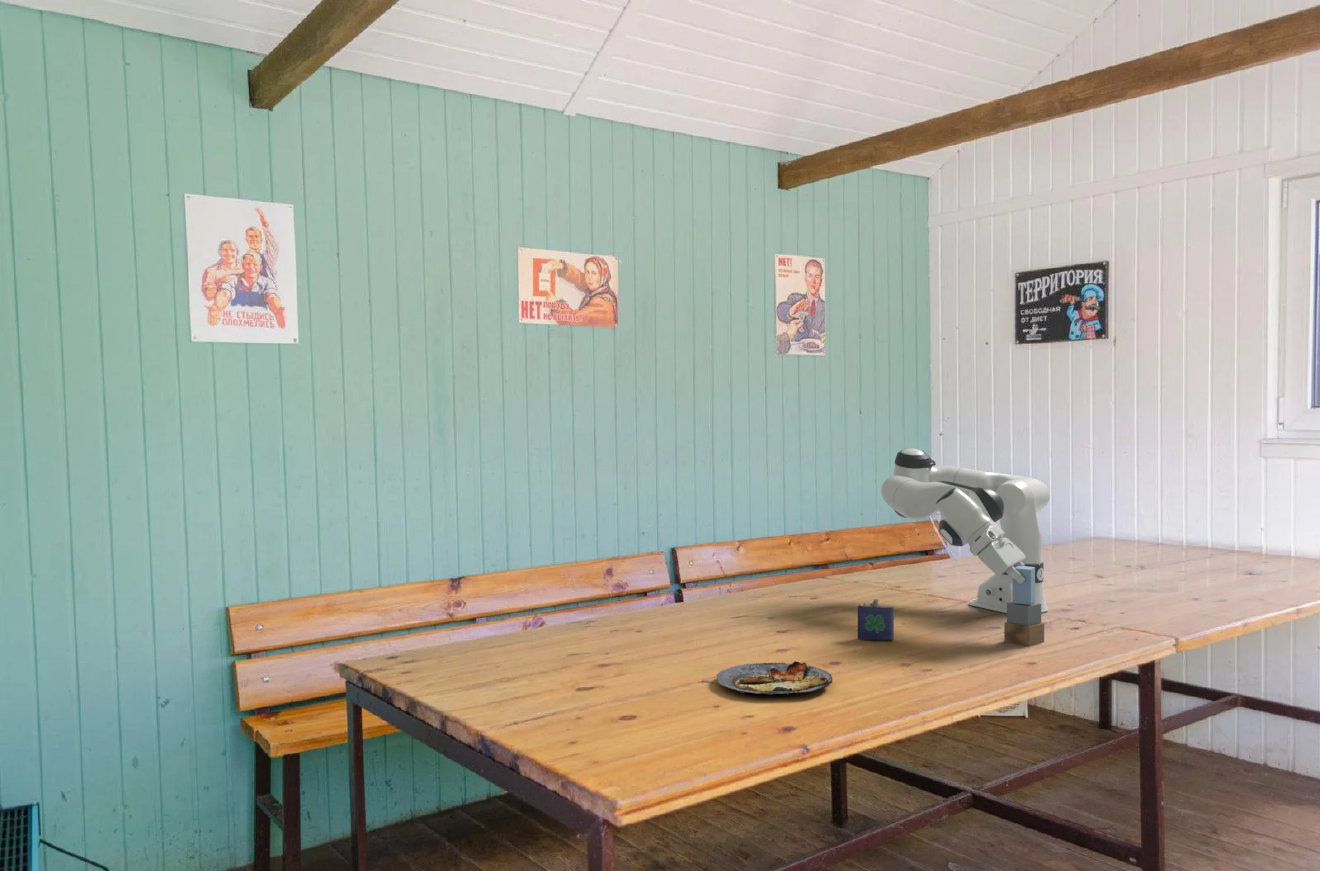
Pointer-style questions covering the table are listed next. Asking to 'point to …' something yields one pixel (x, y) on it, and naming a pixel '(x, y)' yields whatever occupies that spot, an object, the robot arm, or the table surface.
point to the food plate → (775, 678)
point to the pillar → (1024, 586)
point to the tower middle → (1024, 614)
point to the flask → (875, 622)
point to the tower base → (1024, 634)
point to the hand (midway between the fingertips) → (1026, 580)
